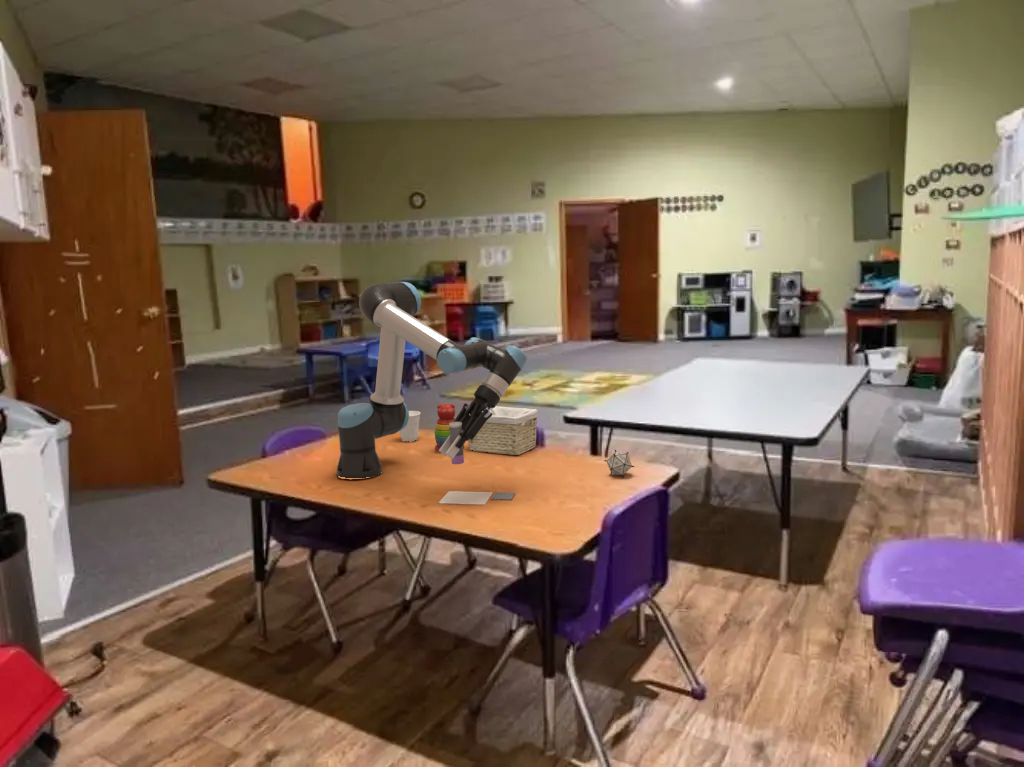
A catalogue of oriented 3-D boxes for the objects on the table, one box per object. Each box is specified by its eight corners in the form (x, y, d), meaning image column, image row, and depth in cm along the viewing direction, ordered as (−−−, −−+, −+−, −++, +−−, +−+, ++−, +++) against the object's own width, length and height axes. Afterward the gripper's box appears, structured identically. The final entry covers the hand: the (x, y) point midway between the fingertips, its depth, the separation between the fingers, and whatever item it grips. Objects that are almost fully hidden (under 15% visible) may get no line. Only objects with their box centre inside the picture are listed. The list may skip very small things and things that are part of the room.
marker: (450, 464, 220) (447, 424, 218) (453, 460, 224) (451, 421, 222) (462, 464, 219) (459, 424, 217) (465, 460, 223) (463, 421, 221)
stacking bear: (464, 446, 285) (462, 400, 282) (460, 453, 275) (457, 406, 272) (436, 447, 286) (434, 401, 283) (431, 454, 276) (428, 406, 273)
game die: (625, 486, 242) (644, 462, 239) (610, 483, 235) (630, 459, 233) (608, 467, 247) (627, 444, 245) (594, 464, 241) (612, 440, 238)
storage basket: (463, 451, 279) (461, 412, 277) (487, 441, 293) (485, 404, 290) (518, 458, 267) (516, 417, 264) (541, 447, 280) (539, 408, 278)
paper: (438, 503, 220) (438, 502, 220) (448, 491, 231) (448, 491, 231) (484, 504, 218) (484, 504, 218) (493, 492, 228) (492, 492, 228)
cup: (393, 443, 294) (391, 416, 292) (401, 437, 304) (399, 410, 302) (418, 443, 292) (416, 416, 291) (425, 437, 302) (423, 410, 300)
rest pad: (491, 499, 222) (491, 498, 222) (495, 493, 228) (495, 492, 228) (511, 500, 221) (511, 499, 221) (515, 493, 226) (515, 492, 226)
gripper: (513, 402, 220) (468, 467, 214) (484, 395, 234) (440, 456, 228) (497, 386, 217) (451, 452, 210) (468, 380, 230) (424, 442, 224)
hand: (445, 454), depth 219 cm, fingers closed on marker, 3 cm apart
